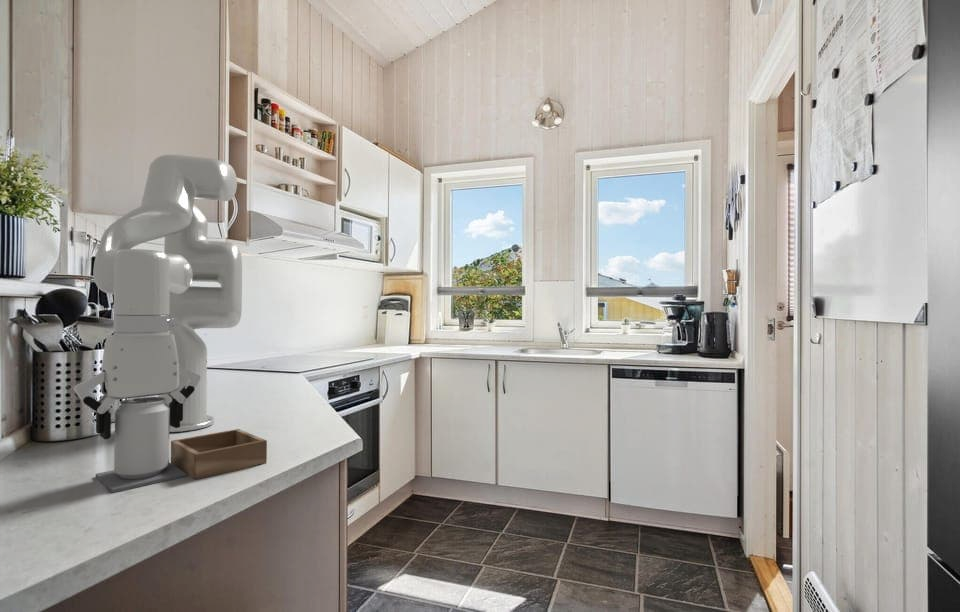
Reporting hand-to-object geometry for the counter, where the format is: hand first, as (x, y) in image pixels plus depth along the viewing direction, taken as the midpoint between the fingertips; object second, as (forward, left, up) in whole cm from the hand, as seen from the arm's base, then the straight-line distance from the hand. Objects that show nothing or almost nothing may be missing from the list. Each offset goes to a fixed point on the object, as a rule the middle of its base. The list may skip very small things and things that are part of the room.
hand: (141, 431), depth 82 cm
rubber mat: (0, 0, -7) cm, 7 cm away
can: (0, 0, -7) cm, 7 cm away
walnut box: (+2, +11, -7) cm, 14 cm away
